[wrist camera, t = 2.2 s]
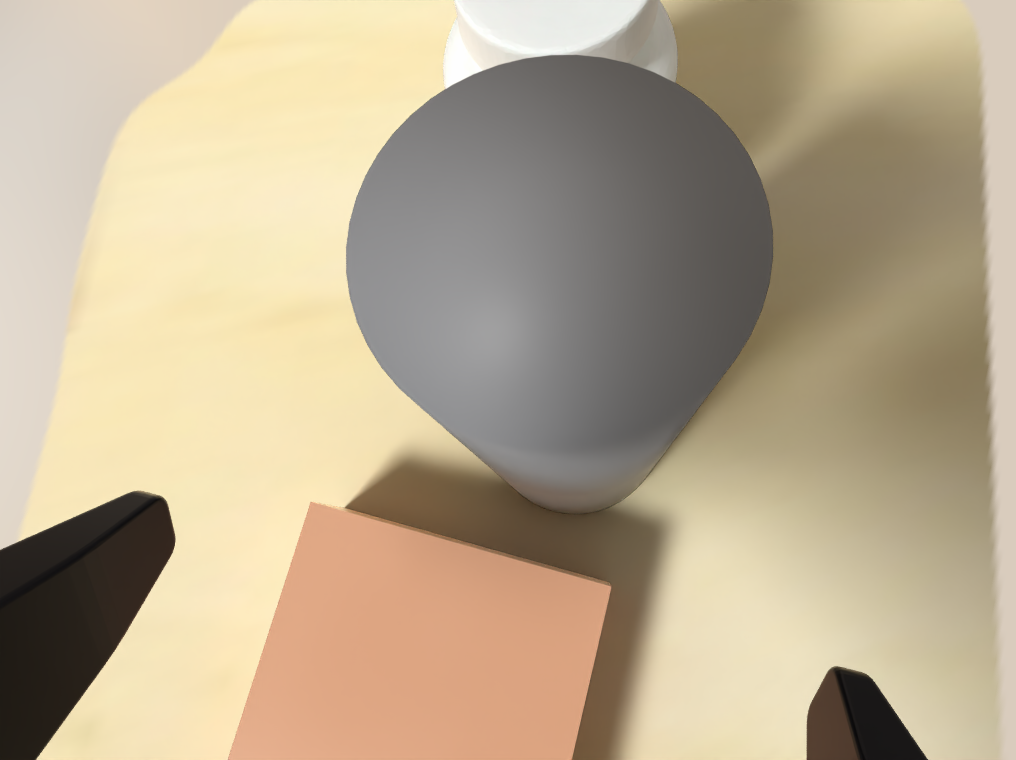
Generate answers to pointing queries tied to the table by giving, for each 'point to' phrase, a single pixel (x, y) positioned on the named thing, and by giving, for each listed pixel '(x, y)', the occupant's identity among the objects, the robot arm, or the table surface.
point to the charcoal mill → (561, 268)
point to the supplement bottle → (559, 34)
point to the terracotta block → (419, 650)
